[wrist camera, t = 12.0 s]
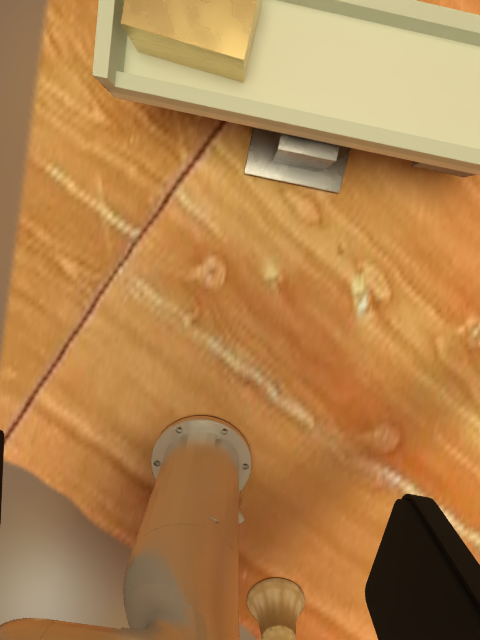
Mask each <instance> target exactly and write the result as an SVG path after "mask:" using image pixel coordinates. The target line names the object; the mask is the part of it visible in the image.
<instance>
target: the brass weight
mask: <svg viewBox="0 0 480 640" xmlns="http://www.w3.org/2000/svg"><path fill="white" fill-rule="evenodd" d="M261 7H262V0H124V6H123V12H122V19H121V25H122V26H123V28H124V30H125V31H126V33H127V35H128V36H129V38H130V40H131V41H132V43H133V44H134V46H135V48H136V49H137V51H138V52H139V53H143V54H146V55H149V56H153V57H156V58H160V59H163V60H167V61H170V62H173V63H177V64H180V65H184V66H187V67H190V68H194V69H197V70H201V71H204V72H207V73H211V74H214V75H218V76H221V77H225V78H228V79H231V80H235V81H238V82H242V83H244V80H245V76H246V71H247V67H248V63H249V58H250V54H251V50H252V46H253V41H254V37H255V33H256V29H257V24H258V20H259V16H260V12H261Z"/></svg>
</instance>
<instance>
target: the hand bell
mask: <svg viewBox="0 0 480 640" xmlns="http://www.w3.org/2000/svg"><path fill="white" fill-rule="evenodd" d="M304 605H305V597H304V593H303V592H302V590H301V589H300V587H299V586H298V585H297V584H295V583H293V582H292V581H289V580H287V579H282V578H269V579H265V580H262V581H260V582H258V583H257V584H255V585H254V586H253V587H252V588H251V590H250V591H249V593H248V596H247V606H248V609H249V611H250V613H251V614H252V616H253V617H254V618H255V619H256V620H257V621H258V623H259V626H260V631H261V637H262V640H296V621H297V618H298V617H299V616H300V614H301V613H302V611H303V608H304Z"/></svg>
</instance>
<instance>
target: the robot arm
mask: <svg viewBox="0 0 480 640" xmlns="http://www.w3.org/2000/svg"><path fill="white" fill-rule="evenodd" d="M179 427H181V428H179ZM223 428H225V429H223ZM3 453H4V433H3V431H2V430H0V522H1V499H2V475H3ZM251 464H252V460H251V452H250V449H249V446H248V443H247V442H246V440H245V438H244V437H243V435H242V434H241V433H240V432H239V431H238V430H237V429H236V428H235V427H233V426H232V425H231V424H229V423H227V422H225V421H223V420H221V419H217V418H214V417H209V416H192V417H187V418H183V419H181V420H179V421H176V422H174V423H173V424H171V425H170V426H168V427H167V428H166V429H165V430H164V431H163V432H162V433H161V434H160V436H159V438H158V439H157V441H156V443H155V445H154V448H153V451H152V455H151V468H152V473H153V476H154V478H155V480H156V481H155V484H154V487H153V490H152V493H151V496H150V499H149V502H148V505H147V508H146V511H145V514H144V517H143V520H142V523H141V526H140V529H139V532H138V535H137V538H136V541H135V544H134V547H133V550H132V553H131V556H130V559H129V562H128V565H127V568H126V572H125V578H124V587H123V594H124V606H125V611H126V615H127V619H128V623H129V626H130V629H128V628H121V629H116V628H108V627H101V626H94V625H86V624H79V623H72V622H65V621H58V620H49V619H38V618H23V619H16V620H12V621H9V622H6V623H3V624H2V625H0V640H240V636H239V616H238V539H239V524H240V523H242V522H243V521H244V519H245V516H244V514H243V512H242V511H241V509H240V508H239V493H240V492H241V491H242V489H243V488H244V486H245V485H246V484H247V481H248V479H249V477H250V473H251ZM365 598H366V603H367V607H368V610H369V613H370V616H371V619H372V622H373V625H374V628H375V631H376V634H377V637H378V640H480V565H479V564H478V562H477V561H476V559H475V558H474V556H473V555H472V554H471V552H470V551H469V549H468V548H467V546H466V545H465V544H464V542H463V541H462V539H461V538H460V536H459V535H458V534H457V532H456V531H455V529H454V528H453V526H452V525H451V524H450V522H449V521H448V519H447V518H446V516H445V515H444V514H443V512H442V511H441V509H440V508H439V507H438V505H437V504H436V502H435V501H434V500H433V499H431V498H429V497H423V496H417V495H412V494H405V495H404V496H403V497H402V499H397V500H396V502H395V504H394V506H393V509H392V512H391V515H390V518H389V521H388V523H387V526H386V529H385V532H384V535H383V538H382V541H381V543H380V546H379V549H378V552H377V555H376V558H375V560H374V563H373V566H372V569H371V572H370V575H369V577H368V580H367V583H366V587H365Z"/></svg>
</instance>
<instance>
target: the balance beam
mask: <svg viewBox="0 0 480 640" xmlns="http://www.w3.org/2000/svg"><path fill="white" fill-rule="evenodd" d="M123 6H124V0H99V5H98V17H97V28H96V40H95V52H94V63H93V76H94V77H95V78H96V79H97V80H98V81H99V82H100V83H101V84H102V85H103V86H104V87H105V88H106V89H107V90H108V91H109V92H110V93H111V94H112V95H113V96H114V97H115V98H119V99H124V100H129V101H133V102H138V103H143V104H148V105H152V106H157V107H162V108H166V109H171V110H176V111H180V112H185V113H190V114H194V115H199V116H204V117H209V118H213V119H218V120H223V121H227V122H232V123H237V124H241V125H246V126H251V127H256V128H260V129H265V130H270V131H274V132H279V133H284V134H288V135H293V136H298V137H302V138H307V139H312V140H317V141H321V142H326V143H331V144H335V145H340V146H345V147H349V148H354V149H359V150H364V151H368V152H373V153H378V154H382V155H387V156H392V157H396V158H401V159H406V160H410V161H413V163H412V166H414V167H418V168H423V169H428V170H432V171H437V172H442V173H447V174H451V175H456V176H461V177H467V176H472V175H480V15H477V14H472V13H468V12H464V11H459V10H455V9H451V8H446V7H442V6H438V5H433V4H429V3H425V2H420V1H416V0H262V7H261V12H260V16H259V20H258V24H257V29H256V33H255V37H254V41H253V46H252V50H251V54H250V58H249V63H248V67H247V71H246V76H245V80H244V83H242V82H238V81H235V80H231V79H228V78H225V77H221V76H218V75H214V74H211V73H207V72H204V71H201V70H197V69H194V68H190V67H187V66H184V65H180V64H177V63H173V62H170V61H167V60H163V59H160V58H156V57H153V56H149V55H146V54H143V53H139V52H138V51H137V49H136V48H135V46H134V44H133V43H132V41H131V40H130V38H129V36H128V35H127V33H126V31H125V30H124V28H123V26H122V25H121V19H122V12H123Z"/></svg>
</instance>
